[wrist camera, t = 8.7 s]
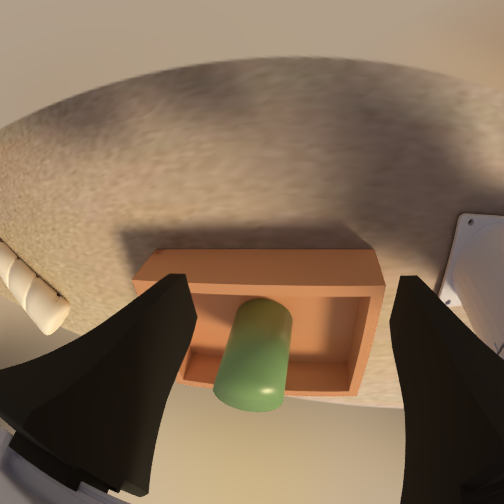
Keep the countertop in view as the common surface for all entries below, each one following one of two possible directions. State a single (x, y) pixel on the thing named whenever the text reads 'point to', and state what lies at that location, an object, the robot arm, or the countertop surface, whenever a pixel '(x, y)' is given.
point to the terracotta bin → (292, 298)
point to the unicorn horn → (32, 292)
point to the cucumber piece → (256, 357)
